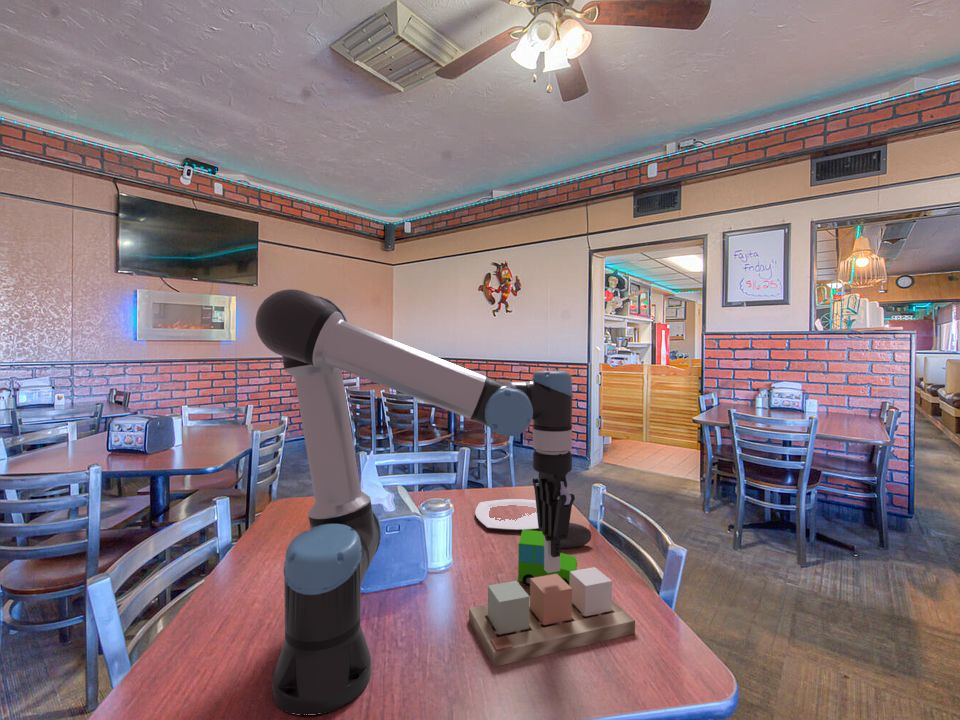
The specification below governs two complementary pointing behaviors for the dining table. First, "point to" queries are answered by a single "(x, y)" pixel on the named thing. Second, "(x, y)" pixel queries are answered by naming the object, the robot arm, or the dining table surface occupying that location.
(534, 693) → the dining table surface
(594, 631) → the board
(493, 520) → the plate
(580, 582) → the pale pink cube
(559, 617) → the terracotta button
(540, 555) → the toy car
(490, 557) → the dining table surface
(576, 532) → the perforated stone tool
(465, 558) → the dining table surface
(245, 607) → the dining table surface
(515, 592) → the sage button
